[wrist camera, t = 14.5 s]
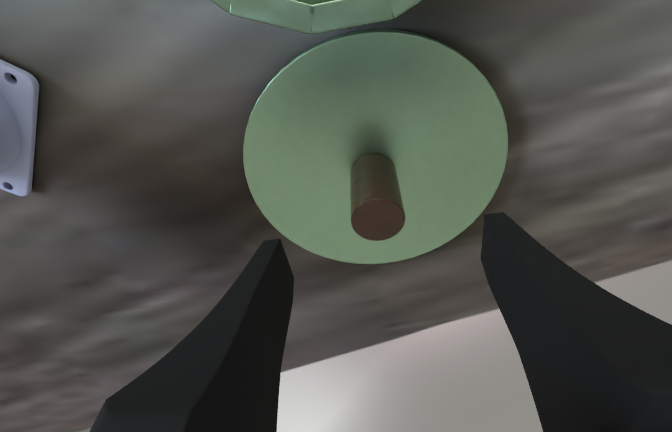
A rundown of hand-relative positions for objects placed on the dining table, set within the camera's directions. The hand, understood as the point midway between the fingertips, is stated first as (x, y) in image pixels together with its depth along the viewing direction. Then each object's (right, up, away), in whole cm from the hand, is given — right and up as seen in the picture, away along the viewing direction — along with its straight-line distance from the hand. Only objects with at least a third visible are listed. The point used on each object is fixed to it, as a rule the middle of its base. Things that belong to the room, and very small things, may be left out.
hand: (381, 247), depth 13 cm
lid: (0, +4, +6) cm, 7 cm away
